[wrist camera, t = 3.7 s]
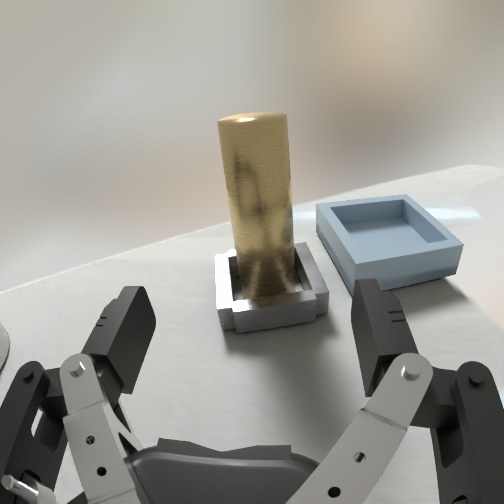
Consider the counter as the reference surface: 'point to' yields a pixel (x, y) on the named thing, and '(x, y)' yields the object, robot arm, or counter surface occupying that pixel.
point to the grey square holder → (272, 307)
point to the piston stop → (260, 201)
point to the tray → (386, 241)
